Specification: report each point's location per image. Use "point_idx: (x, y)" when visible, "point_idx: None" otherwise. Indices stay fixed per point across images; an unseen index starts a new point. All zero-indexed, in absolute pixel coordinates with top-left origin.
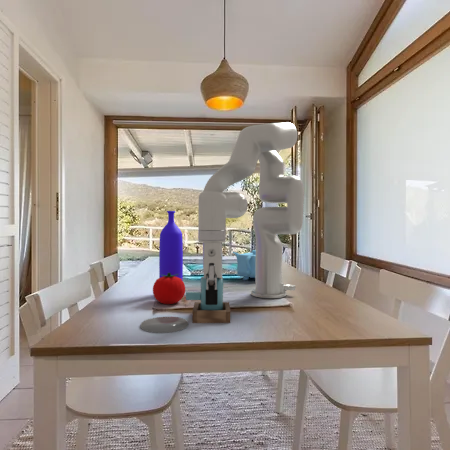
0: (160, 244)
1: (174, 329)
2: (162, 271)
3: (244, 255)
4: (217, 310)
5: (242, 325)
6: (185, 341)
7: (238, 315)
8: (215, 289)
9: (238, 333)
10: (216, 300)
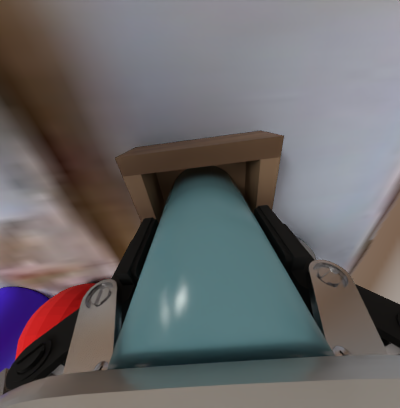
0: None
1: (312, 253)
2: None
3: None
4: (259, 191)
5: (273, 76)
6: (363, 222)
7: (139, 105)
8: (334, 270)
9: (363, 89)
10: (273, 217)
